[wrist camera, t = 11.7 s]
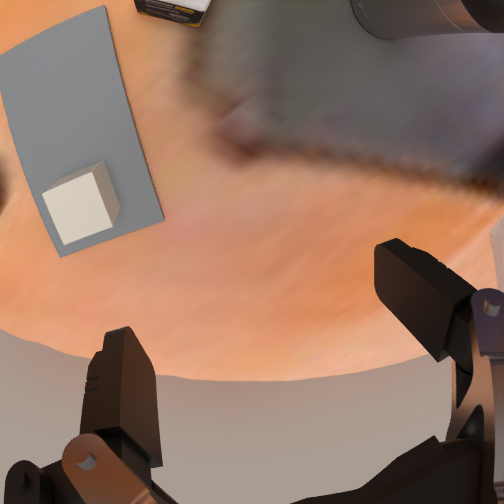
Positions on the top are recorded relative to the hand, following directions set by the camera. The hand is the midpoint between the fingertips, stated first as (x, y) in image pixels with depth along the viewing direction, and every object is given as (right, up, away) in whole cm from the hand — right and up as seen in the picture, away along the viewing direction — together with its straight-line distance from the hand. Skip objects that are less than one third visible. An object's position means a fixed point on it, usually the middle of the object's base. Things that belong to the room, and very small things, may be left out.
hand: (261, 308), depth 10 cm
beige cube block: (-18, +8, +22) cm, 29 cm away
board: (-20, +15, +19) cm, 31 cm away
